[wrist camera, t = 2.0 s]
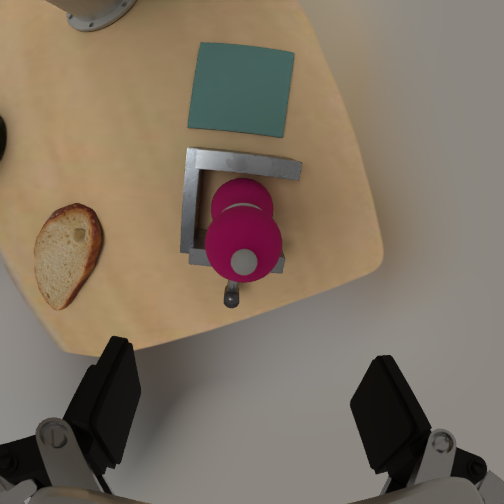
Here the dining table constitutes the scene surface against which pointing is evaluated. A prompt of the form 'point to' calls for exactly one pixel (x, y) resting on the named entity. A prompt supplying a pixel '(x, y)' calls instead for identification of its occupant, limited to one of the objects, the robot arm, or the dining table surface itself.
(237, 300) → the grey c-clamp
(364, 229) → the dining table surface
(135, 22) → the dining table surface
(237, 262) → the pepper mill
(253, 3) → the dining table surface
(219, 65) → the mat
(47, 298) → the bread slice
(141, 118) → the dining table surface
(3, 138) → the dark green wine bottle
